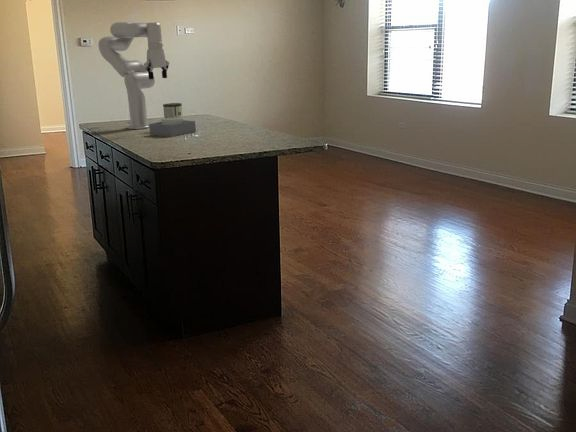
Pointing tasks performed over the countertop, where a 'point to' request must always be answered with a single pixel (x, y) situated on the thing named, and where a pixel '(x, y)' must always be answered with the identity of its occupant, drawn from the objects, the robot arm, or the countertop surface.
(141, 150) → the countertop surface
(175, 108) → the coffee can
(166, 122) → the sage crate
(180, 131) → the charcoal crate
